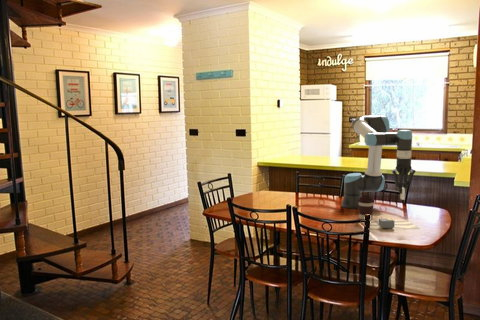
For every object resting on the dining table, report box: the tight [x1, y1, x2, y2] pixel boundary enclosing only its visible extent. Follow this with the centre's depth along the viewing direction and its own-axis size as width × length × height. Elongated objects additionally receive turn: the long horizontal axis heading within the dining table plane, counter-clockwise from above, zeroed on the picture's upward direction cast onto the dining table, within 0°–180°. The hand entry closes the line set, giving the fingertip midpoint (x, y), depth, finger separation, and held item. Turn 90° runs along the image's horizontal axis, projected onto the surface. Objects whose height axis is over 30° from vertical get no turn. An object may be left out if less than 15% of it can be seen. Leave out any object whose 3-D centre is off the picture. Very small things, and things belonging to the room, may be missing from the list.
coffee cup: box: [358, 195, 375, 220], centre depth 247 cm, size 10×10×15 cm
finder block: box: [378, 217, 395, 230], centre depth 227 cm, size 5×7×5 cm
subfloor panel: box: [360, 219, 420, 231], centre depth 234 cm, size 18×28×2 cm, turn 91°
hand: (402, 199), depth 225 cm, fingers closed
